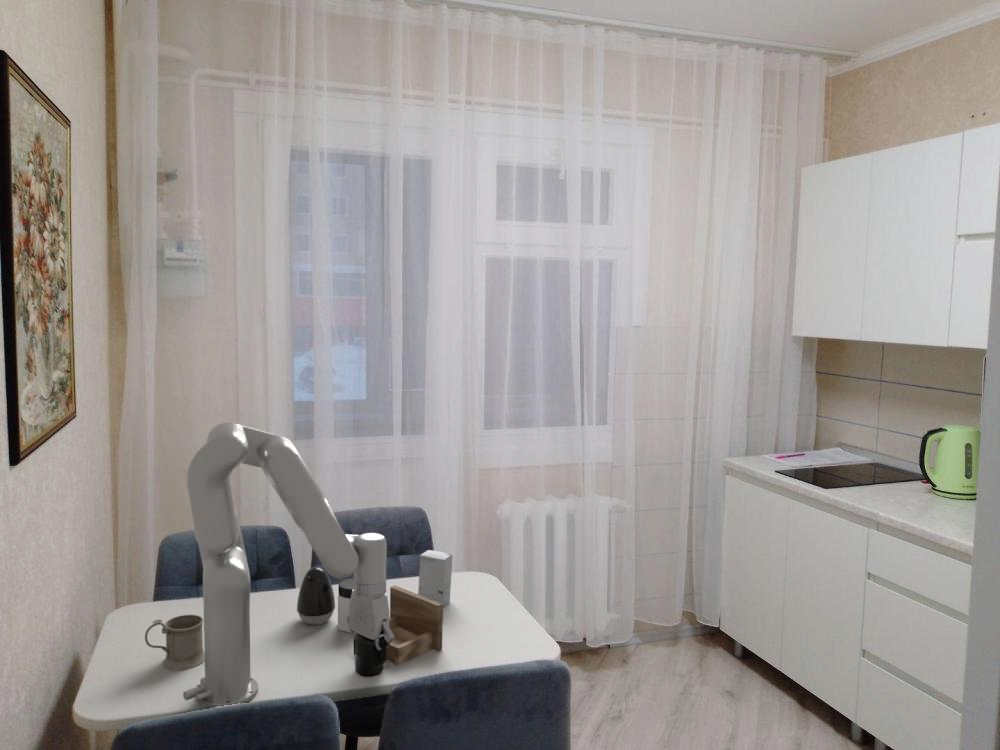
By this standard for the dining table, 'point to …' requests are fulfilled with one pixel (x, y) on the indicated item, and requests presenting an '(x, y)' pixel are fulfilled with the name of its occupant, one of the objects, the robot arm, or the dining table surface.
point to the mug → (181, 642)
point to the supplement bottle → (366, 657)
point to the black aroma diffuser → (316, 597)
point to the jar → (344, 603)
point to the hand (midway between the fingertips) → (369, 657)
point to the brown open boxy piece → (413, 625)
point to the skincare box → (435, 576)
